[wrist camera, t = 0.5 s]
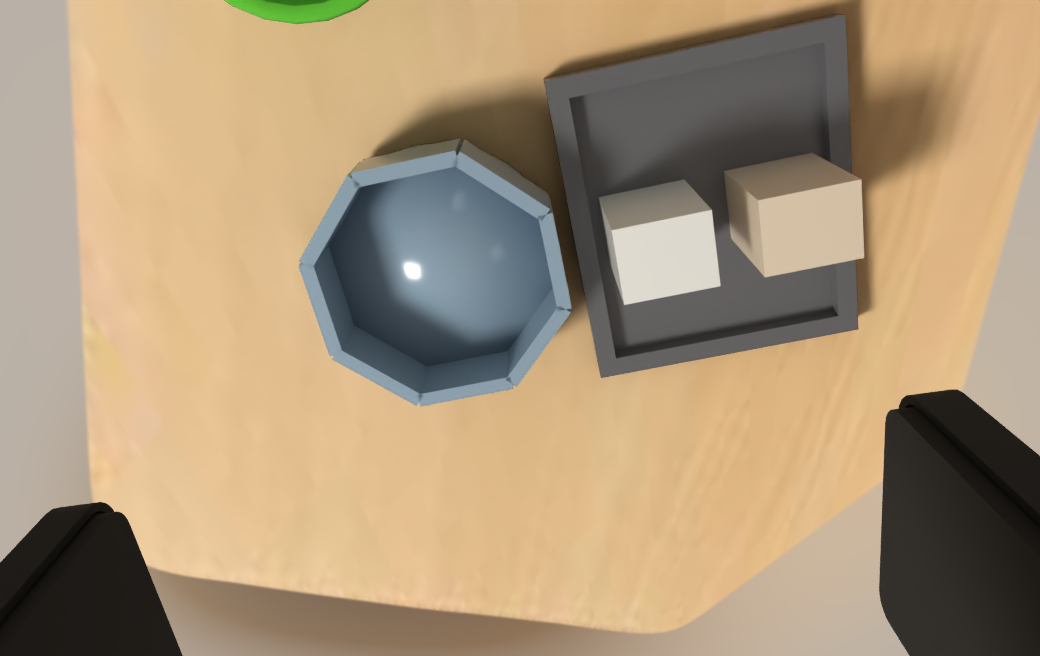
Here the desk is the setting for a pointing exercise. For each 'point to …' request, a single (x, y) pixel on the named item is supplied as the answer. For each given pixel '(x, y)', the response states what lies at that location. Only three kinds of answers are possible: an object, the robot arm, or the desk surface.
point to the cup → (297, 9)
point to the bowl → (437, 273)
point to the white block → (660, 241)
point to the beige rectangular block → (795, 214)
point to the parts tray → (705, 182)
